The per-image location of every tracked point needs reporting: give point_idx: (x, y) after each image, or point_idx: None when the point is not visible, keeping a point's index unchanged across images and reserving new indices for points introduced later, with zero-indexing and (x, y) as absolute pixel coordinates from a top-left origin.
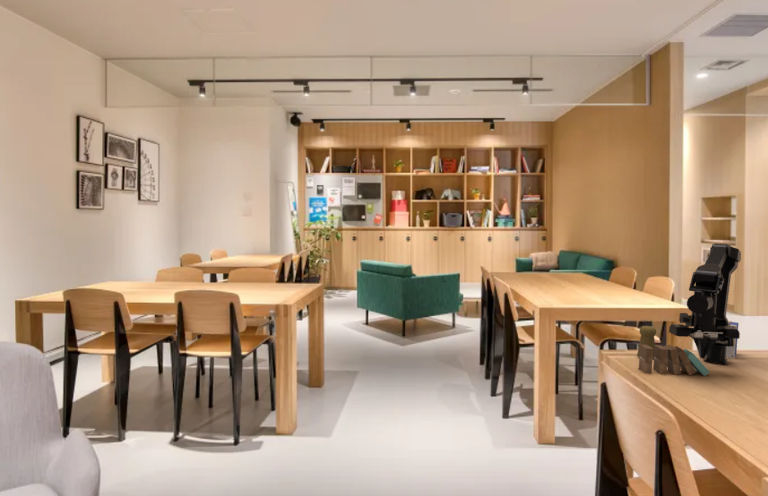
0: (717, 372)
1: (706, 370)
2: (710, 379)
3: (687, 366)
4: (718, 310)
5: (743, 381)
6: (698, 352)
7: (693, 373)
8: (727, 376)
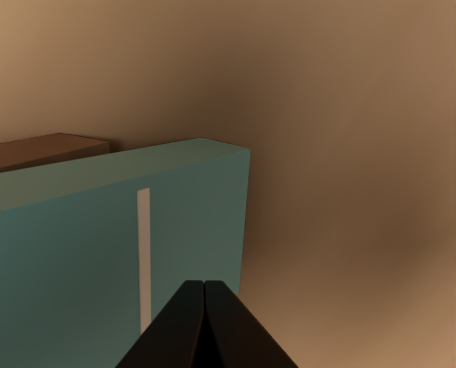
0: (378, 154)
1: None
2: None
3: None
4: None
5: (413, 346)
6: (156, 320)
7: None
8: (383, 254)
